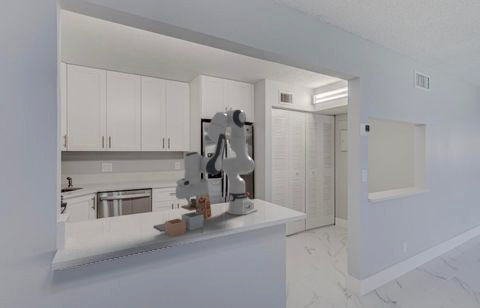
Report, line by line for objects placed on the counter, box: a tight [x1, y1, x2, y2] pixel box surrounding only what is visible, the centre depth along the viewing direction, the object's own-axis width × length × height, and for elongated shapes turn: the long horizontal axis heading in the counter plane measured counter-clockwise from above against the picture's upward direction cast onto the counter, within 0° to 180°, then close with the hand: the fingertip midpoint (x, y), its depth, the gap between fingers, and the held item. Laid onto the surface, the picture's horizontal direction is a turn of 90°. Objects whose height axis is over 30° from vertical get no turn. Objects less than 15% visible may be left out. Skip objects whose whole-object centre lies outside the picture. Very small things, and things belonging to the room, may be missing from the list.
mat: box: [153, 222, 165, 232], centre depth 137 cm, size 11×11×1 cm
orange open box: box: [164, 218, 187, 237], centre depth 128 cm, size 8×8×6 cm
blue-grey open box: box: [181, 211, 204, 231], centre depth 137 cm, size 9×9×7 cm
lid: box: [181, 198, 205, 212], centre depth 138 cm, size 10×10×5 cm
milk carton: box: [195, 192, 213, 221], centre depth 155 cm, size 9×9×20 cm
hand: (193, 203), depth 138 cm, fingers closed on lid, 3 cm apart
